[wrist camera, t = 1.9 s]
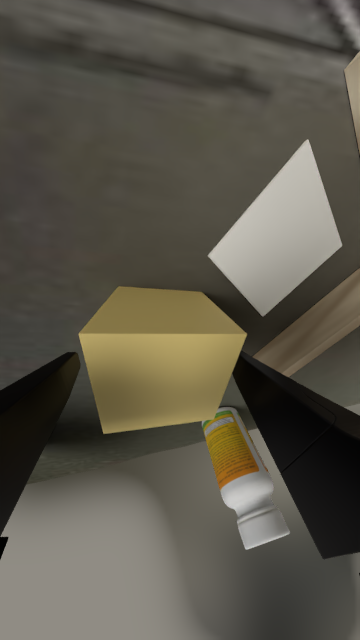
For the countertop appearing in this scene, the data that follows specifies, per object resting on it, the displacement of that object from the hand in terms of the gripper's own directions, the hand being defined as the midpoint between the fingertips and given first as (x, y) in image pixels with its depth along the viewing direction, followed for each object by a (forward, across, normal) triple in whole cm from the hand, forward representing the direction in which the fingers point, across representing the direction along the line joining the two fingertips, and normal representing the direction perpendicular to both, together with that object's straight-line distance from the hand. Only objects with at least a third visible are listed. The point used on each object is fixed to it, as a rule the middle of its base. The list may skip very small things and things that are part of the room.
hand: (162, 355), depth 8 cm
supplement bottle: (+4, -9, +15) cm, 18 cm away
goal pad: (+4, -8, -7) cm, 11 cm away
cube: (+4, 0, 0) cm, 4 cm away
